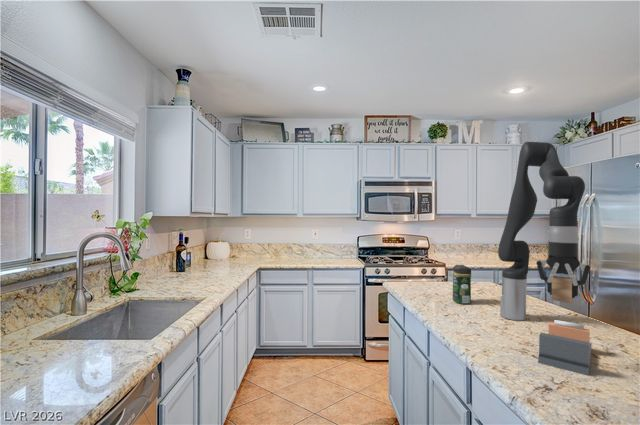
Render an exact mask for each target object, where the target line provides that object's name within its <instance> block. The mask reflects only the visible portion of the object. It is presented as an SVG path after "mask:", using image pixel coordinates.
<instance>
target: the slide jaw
mask: <svg viewBox="0 0 640 425" xmlns="http://www.w3.org/2000/svg"><path fill="white" fill-rule="evenodd" d="M590 333H591V330H590V329H589V328H585V325H584V324H580V323H575V322H571V321H570V322H569V321H563V320H558V319H554V321H553V322H551V321H549V322H548V333H547V334H551V335H556V336H561V337H566V338H570V339H575V340H580V341H585V342H590V336H591V335H590Z"/></svg>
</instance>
